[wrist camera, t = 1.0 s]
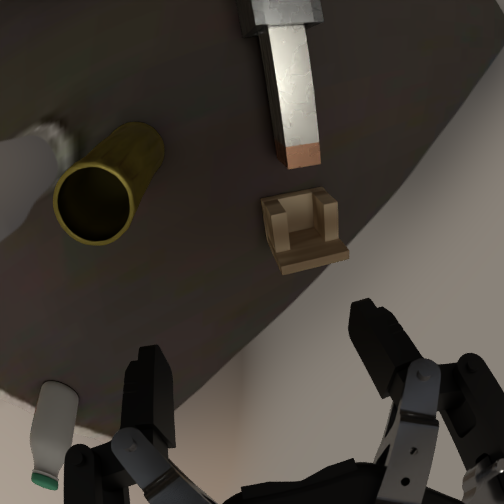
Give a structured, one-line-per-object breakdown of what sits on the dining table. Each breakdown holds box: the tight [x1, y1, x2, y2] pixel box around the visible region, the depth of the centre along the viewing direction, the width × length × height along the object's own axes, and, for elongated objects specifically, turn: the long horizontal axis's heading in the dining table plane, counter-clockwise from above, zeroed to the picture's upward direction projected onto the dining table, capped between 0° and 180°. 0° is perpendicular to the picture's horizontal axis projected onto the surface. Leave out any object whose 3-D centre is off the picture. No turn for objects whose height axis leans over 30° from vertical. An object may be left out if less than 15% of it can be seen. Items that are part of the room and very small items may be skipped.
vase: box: [53, 122, 164, 245], centre depth 22 cm, size 6×6×14 cm
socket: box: [261, 187, 349, 275], centre depth 31 cm, size 5×7×7 cm
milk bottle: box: [30, 381, 79, 490], centre depth 36 cm, size 8×8×20 cm
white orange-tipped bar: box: [258, 24, 321, 169], centre depth 22 cm, size 22×3×4 cm, turn 9°
